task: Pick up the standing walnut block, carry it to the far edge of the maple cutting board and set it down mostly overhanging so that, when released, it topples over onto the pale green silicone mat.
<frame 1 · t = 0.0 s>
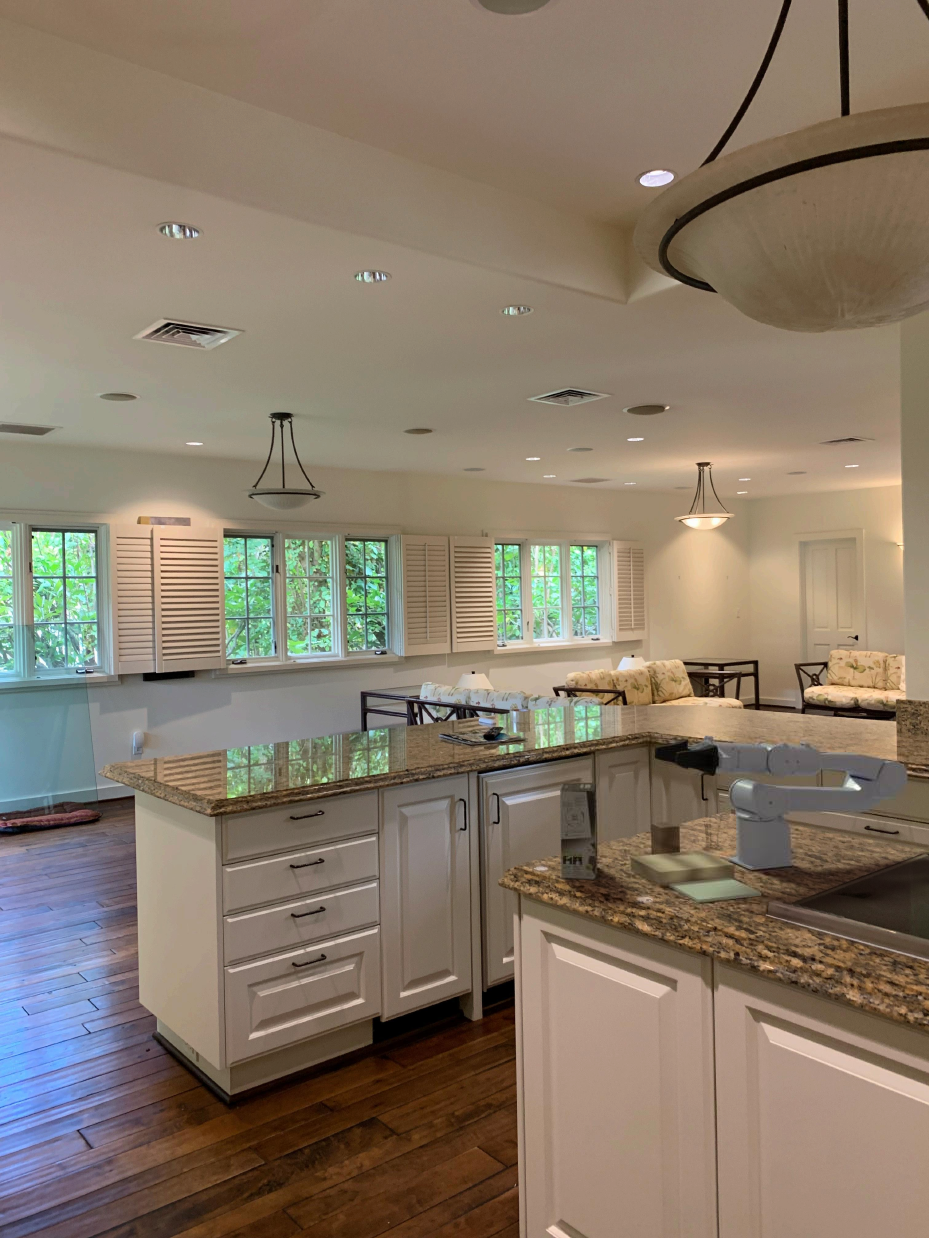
hand: (665, 755, 163), 22 cm above the worktop, tool horizontal, fingers open, 7 cm apart
maple board: (681, 874, 162), on the worktop
green mat: (714, 890, 152), on the worktop
coffee box: (580, 873, 164), on the worktop
walnut block: (665, 860, 172), on the worktop
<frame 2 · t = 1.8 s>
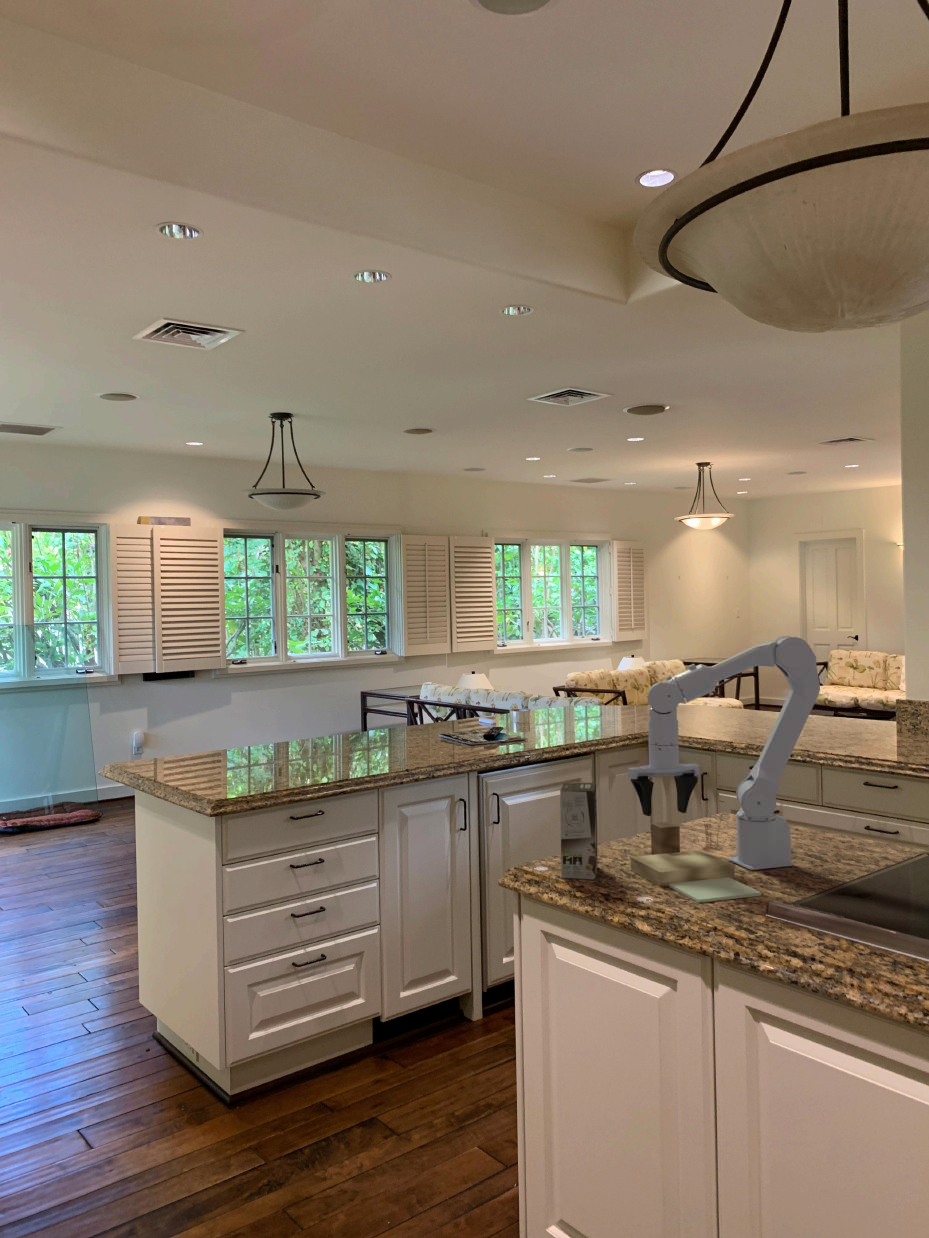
hand: (664, 813, 172), 9 cm above the worktop, tool pointing down, fingers open, 7 cm apart
nothing on the worktop moved.
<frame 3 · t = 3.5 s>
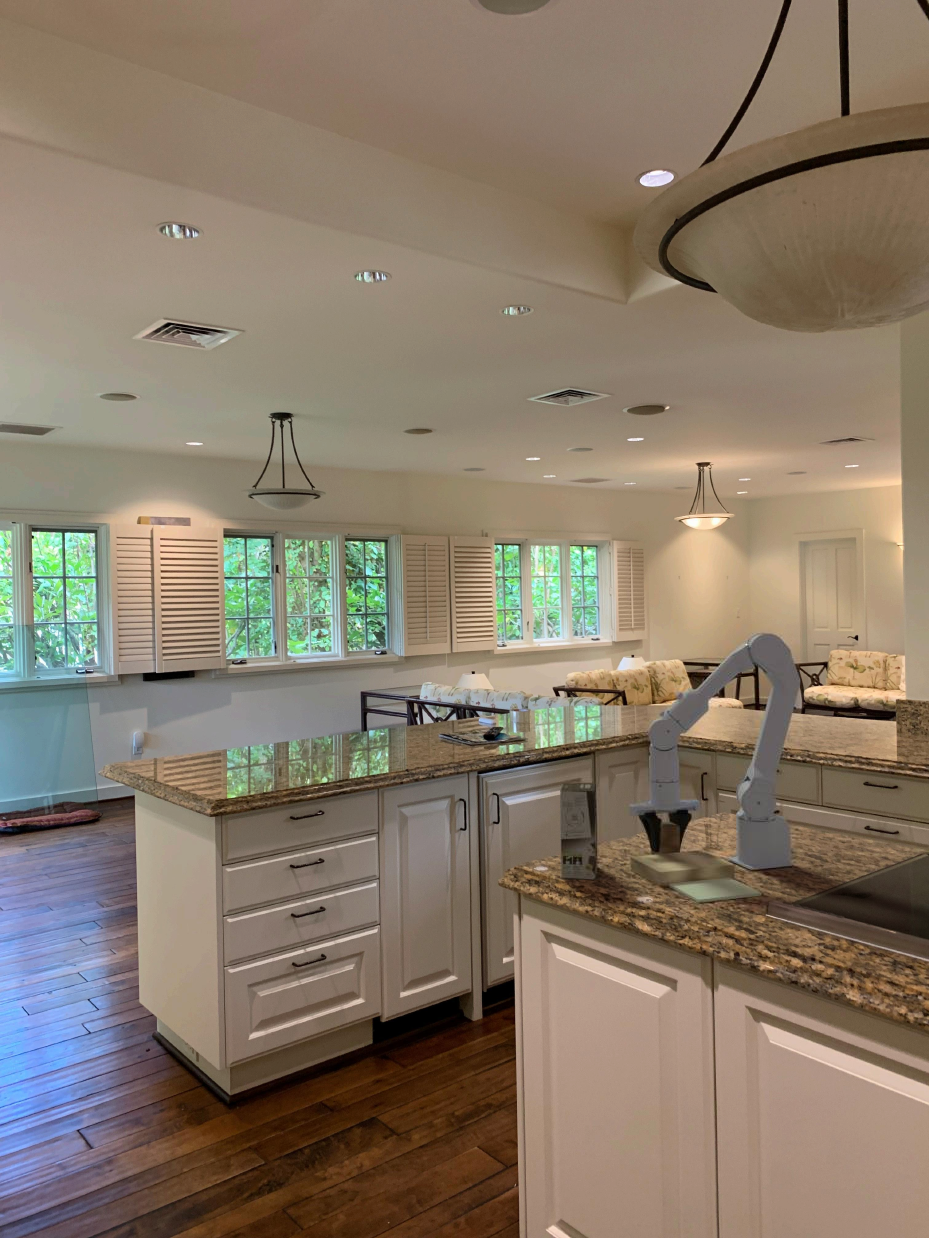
hand: (665, 850, 172), 2 cm above the worktop, tool pointing down, fingers closed on walnut block, 4 cm apart
walnut block: (665, 860, 172), on the worktop, touching gripper
everything else where it was.
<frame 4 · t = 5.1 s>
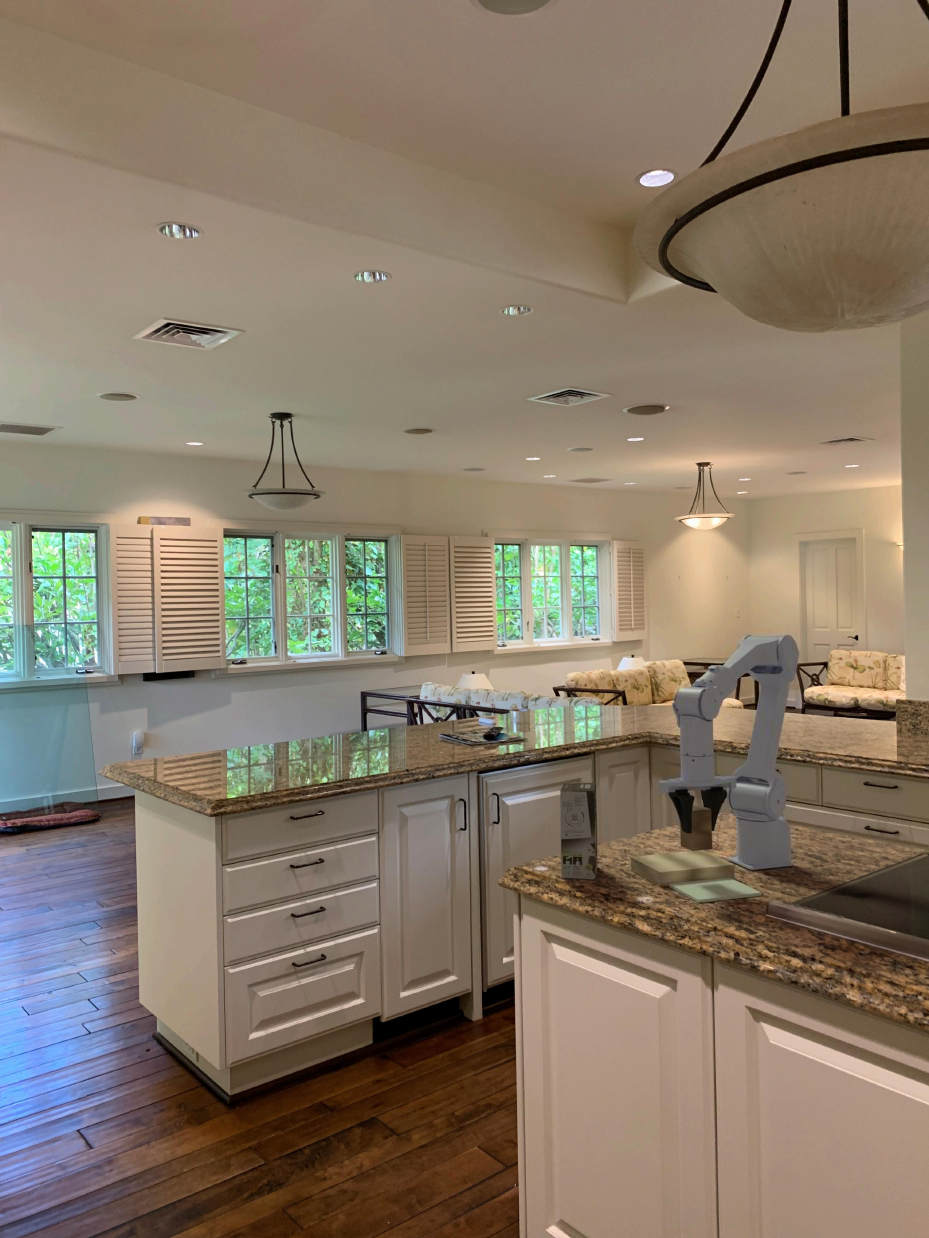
hand: (698, 830, 157), 9 cm above the worktop, tool pointing down, fingers closed on walnut block, 4 cm apart
walnut block: (696, 847, 157), point 6 cm above the worktop, touching gripper
everything else where it was.
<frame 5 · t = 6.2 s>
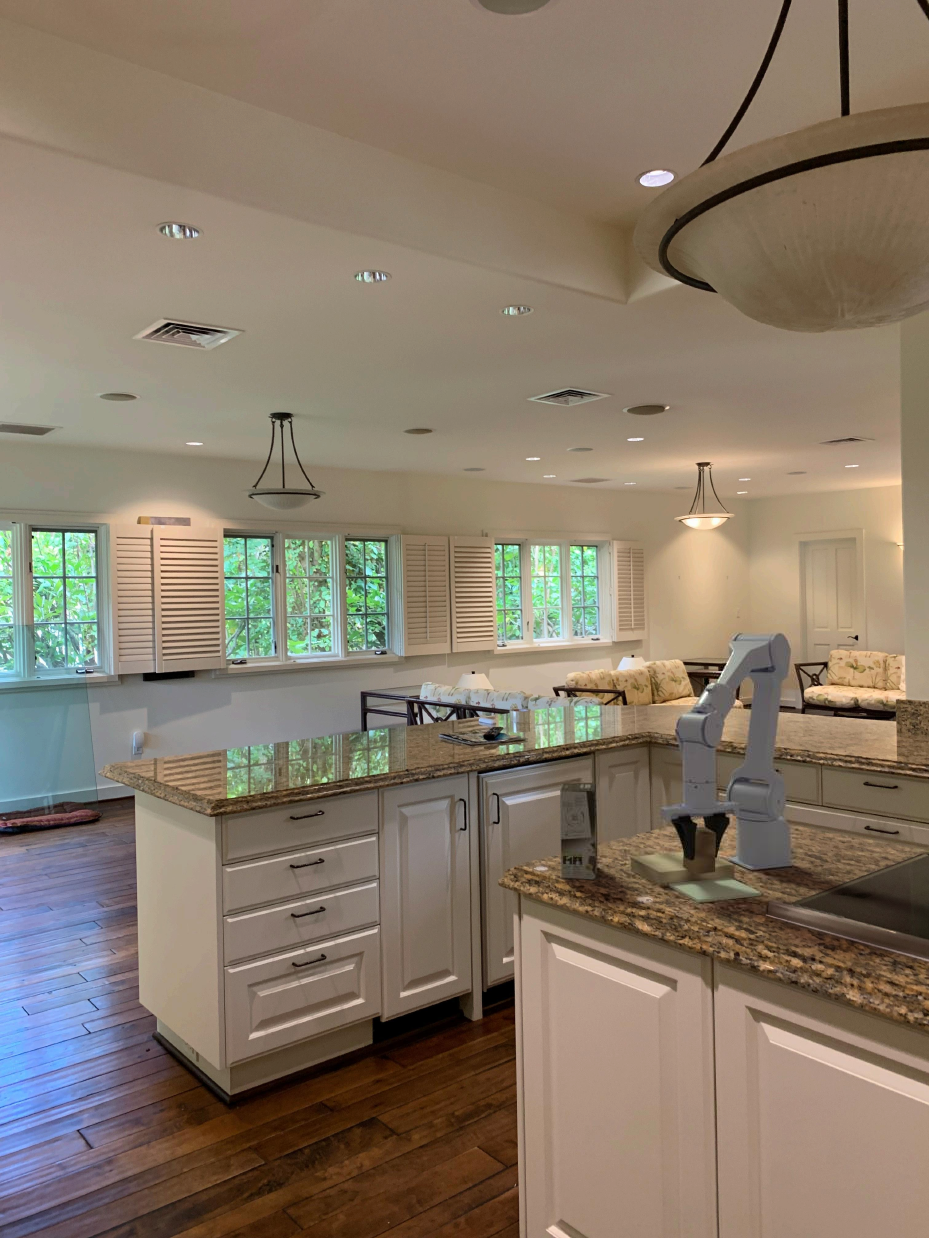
hand: (700, 857, 156), 5 cm above the worktop, tool pointing down, fingers closed on walnut block, 4 cm apart
walnut block: (698, 869, 156), point 2 cm above the worktop, touching gripper, maple board
everything else where it was.
when the fingers open (5 cm above the worktop, at t = 6.9 s): walnut block moves 1 cm and tips over, resting on green mat.
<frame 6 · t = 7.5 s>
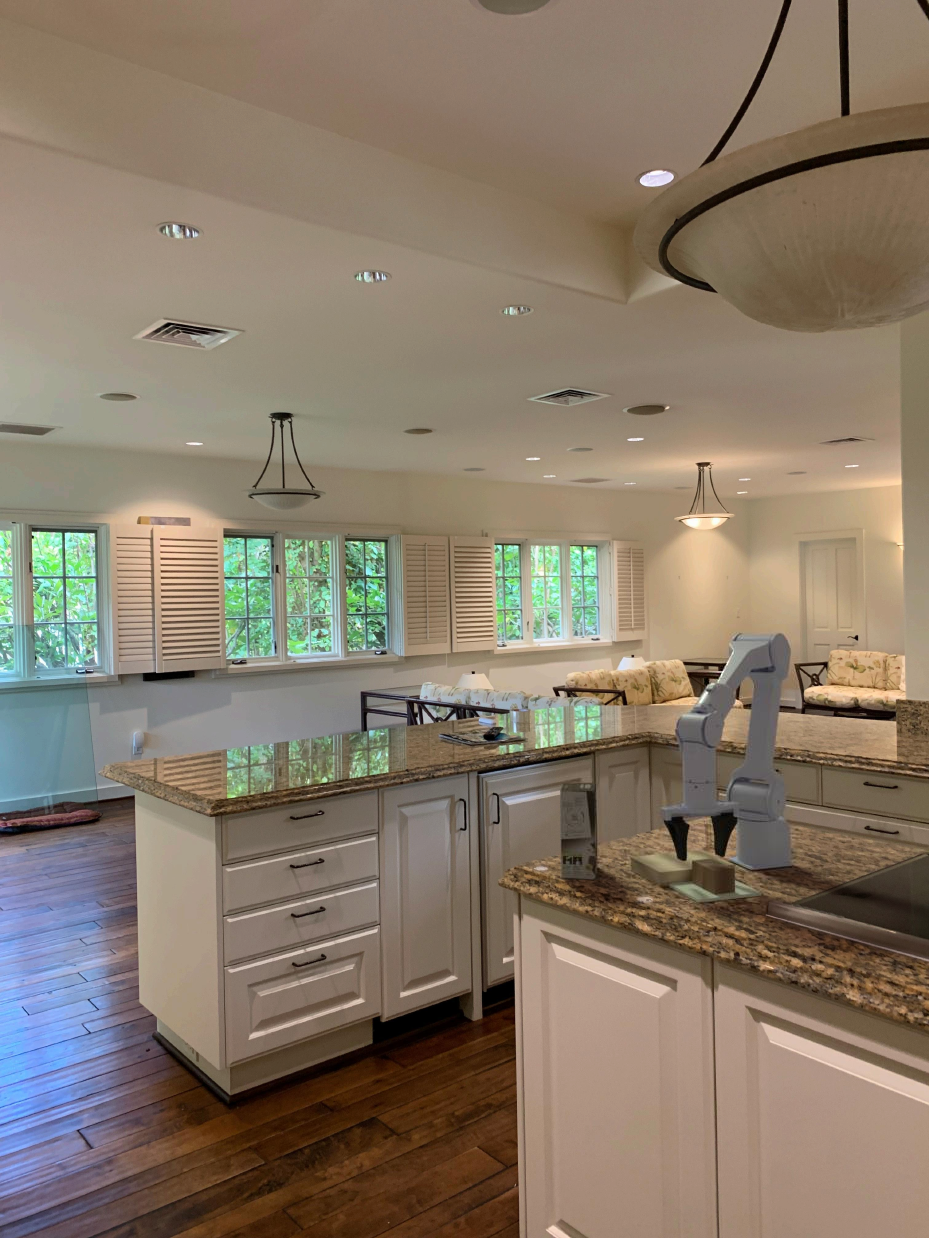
hand: (701, 857, 156), 5 cm above the worktop, tool pointing down, fingers open, 7 cm apart
walnut block: (702, 870, 155), point 2 cm above the worktop, tilted 90°, touching green mat
everything else where it was.
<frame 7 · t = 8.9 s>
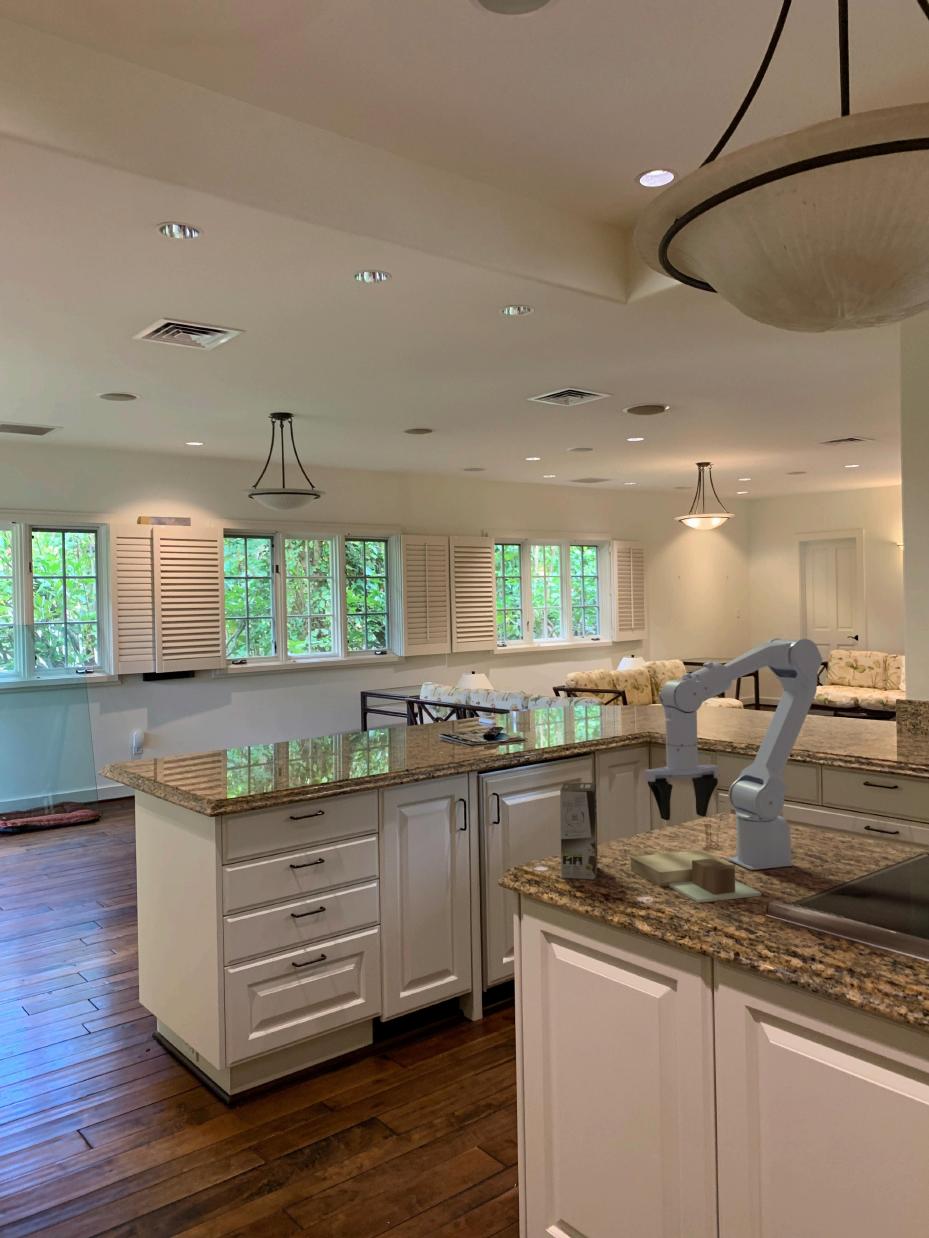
hand: (683, 817, 164), 10 cm above the worktop, tool pointing down, fingers open, 7 cm apart
nothing on the worktop moved.
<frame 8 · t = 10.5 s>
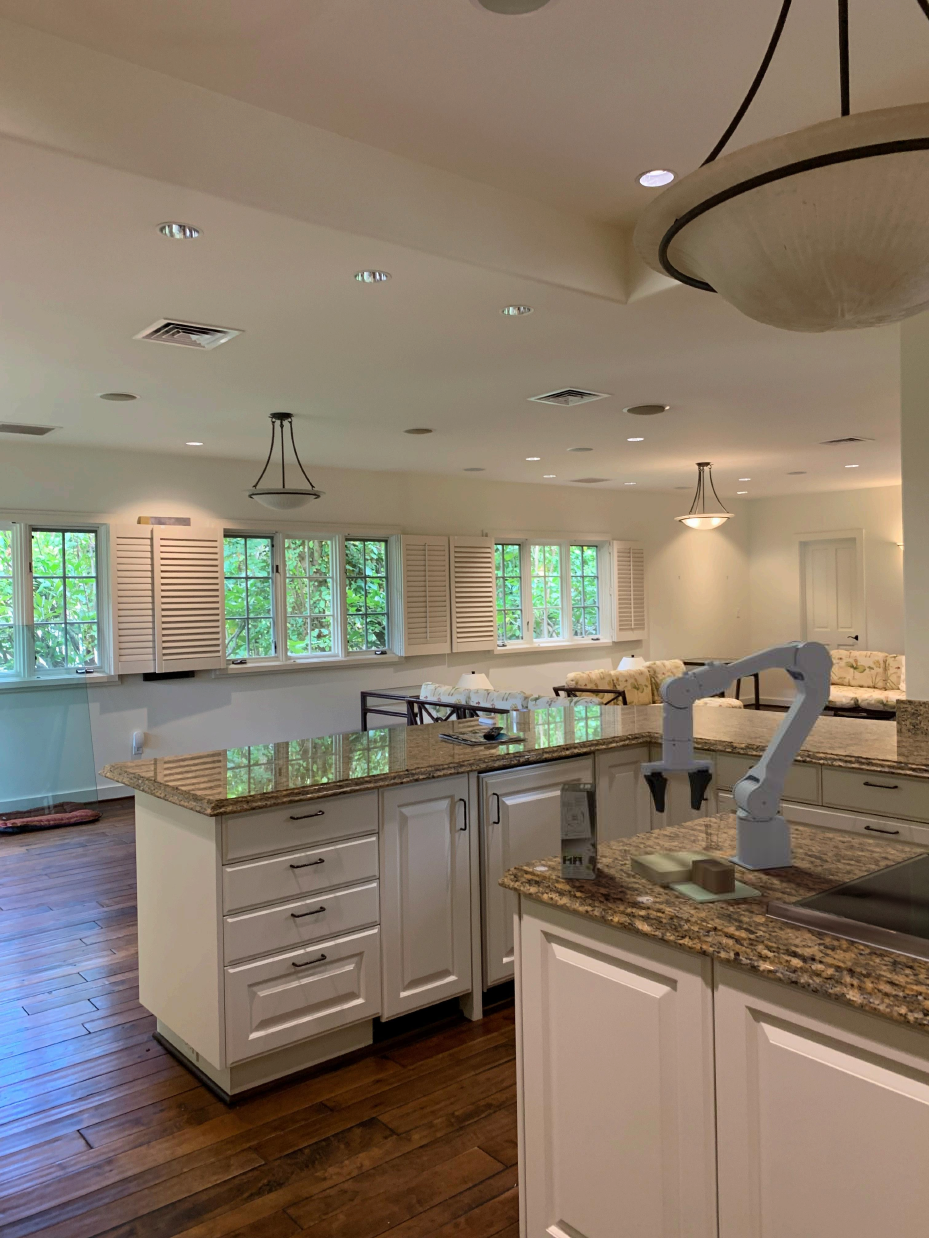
hand: (677, 810, 168), 10 cm above the worktop, tool pointing down, fingers open, 7 cm apart
nothing on the worktop moved.
at the end: walnut block tilted 90°; walnut block inside the target area (3.9 cm from its centre), point 2.5 cm above the worktop; the gripper is holding nothing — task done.
